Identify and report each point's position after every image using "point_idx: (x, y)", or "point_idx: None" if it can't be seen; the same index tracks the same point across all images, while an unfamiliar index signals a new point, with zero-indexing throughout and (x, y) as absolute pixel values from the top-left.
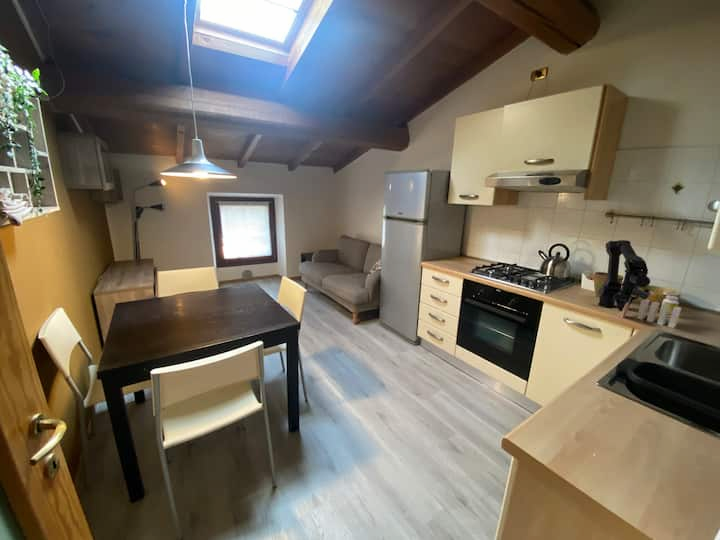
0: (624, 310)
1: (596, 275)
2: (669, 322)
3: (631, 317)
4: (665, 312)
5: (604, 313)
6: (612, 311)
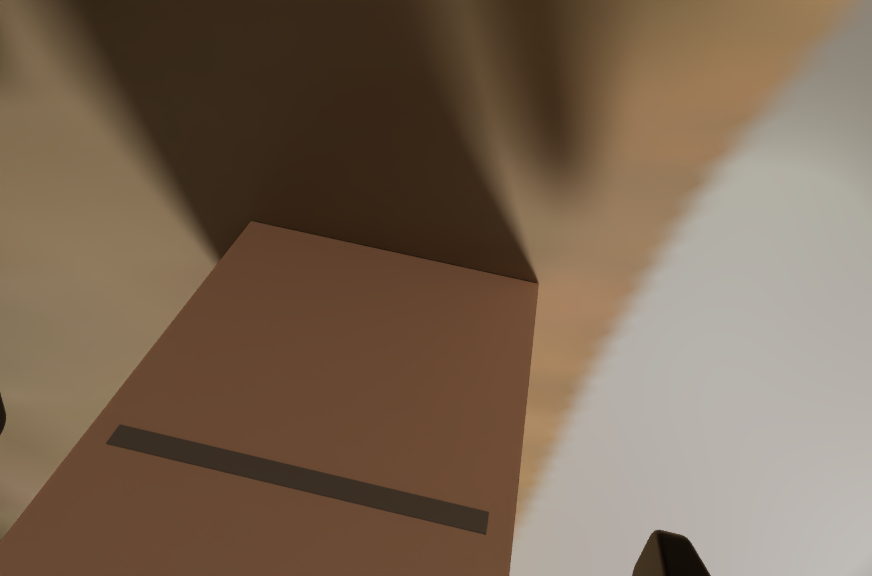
0: (515, 486)
1: None
2: None
3: (188, 90)
4: None
5: None
6: None
